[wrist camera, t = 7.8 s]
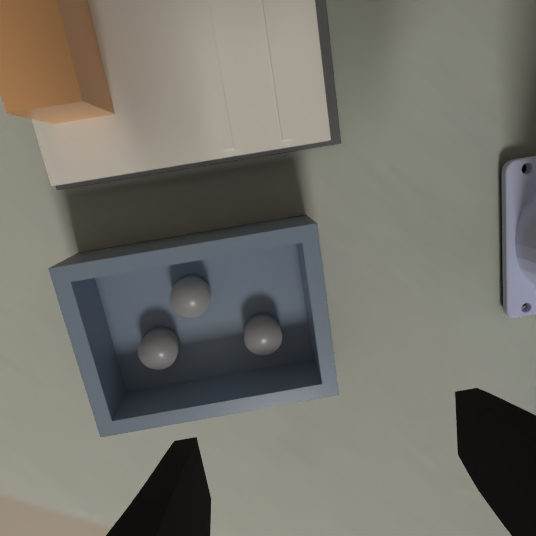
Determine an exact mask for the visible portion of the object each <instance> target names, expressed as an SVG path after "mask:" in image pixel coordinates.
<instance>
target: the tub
mask: <svg viewBox="0 0 536 536" xmlns="http://www.w3.org/2000/svg"><path fill="white" fill-rule="evenodd" d="M48 269H49V272H50V275H51V279H52V282H53V285H54V288H55V291H56V295H57V298H58V301H59V304H60V308H61V311H62V314H63V317H64V321H65V324H66V327H67V330H68V334H69V337H70V340H71V343H72V347H73V350H74V353H75V356H76V360H77V363H78V366H79V369H80V373H81V376H82V379H83V382H84V385H85V389H86V392H87V395H88V398H89V402H90V405H91V408H92V411H93V415H94V418H95V421H96V424H97V428H98V431H99V434H100V437H105V436H110V435H116V434H122V433H127V432H133V431H139V430H144V429H150V428H156V427H161V426H167V425H172V424H178V423H184V422H189V421H195V420H201V419H206V418H212V417H218V416H223V415H229V414H234V413H240V412H246V411H251V410H257V409H263V408H268V407H274V406H280V405H285V404H291V403H297V402H302V401H308V400H313V399H319V398H325V397H330V396H336V395H339V390H338V382H337V374H336V367H335V359H334V351H333V344H332V336H331V328H330V320H329V313H328V305H327V297H326V289H325V282H324V274H323V266H322V258H321V251H320V243H319V235H318V227H317V223H316V222H315V221H313V220H312V219H311V218H309V217H308V216H307V215H301V216H295V217H289V218H283V219H277V220H271V221H266V222H260V223H254V224H248V225H242V226H236V227H230V228H224V229H218V230H212V231H206V232H200V233H194V234H188V235H182V236H176V237H170V238H164V239H158V240H152V241H146V242H140V243H135V244H129V245H123V246H117V247H111V248H105V249H99V250H93V251H87V252H81V253H77V254H75V255H73V256H71V257H69V258H67V259H66V260H64V261H62V262H60V263H58V264H56V265H54V266H52V267H50V268H48Z"/></svg>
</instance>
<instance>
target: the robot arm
mask: <svg viewBox="0 0 536 536" xmlns="http://www.w3.org/2000/svg"><path fill="white" fill-rule="evenodd" d="M524 164H526V167H527V169H526V171H525V172H524V173H522V170H521V169H522V166H523V165H524ZM502 254H503V310H504V313H505V314H506V315H508V316H509V317H512V318H520V317H525V316H531V315H536V156H530V157H524V158H518V159H512V160H509V161H507V162H506V163H505V164H504V166H503V167H502ZM525 303H526V307H525V308H524V309H521V308H522V306H523V304H525ZM455 397H456V420H457V443H458V455H459V457H460V459H461V461H462V463H463V464H464V466H465V468H466V470H467V472H468V473H469V475H470V477H471V479H472V480H473V482H474V484H475V485H476V487H477V489H478V490H479V492H480V493H481V495H482V496H483V497H484V499H485V500H486V501H487V503H488V504H489V506H490V507H491V508H492V510H493V511H494V512H495V514H496V515H497V516H498V518H499V519H500V520H501V522H502V523H503V525H504V526H505V527H506V529H507V530H508V531H509V533H510V534H511V535H512V536H536V415H534V414H532V413H530V412H527V411H525V410H523V409H521V408H519V407H517V406H515V405H513V404H511V403H509V402H507V401H505V400H503V399H500V398H498V397H496V396H494V395H492V394H490V393H488V392H485V391H483V390H481V389H478V388H474V389H468V390H463V391H457V392H455ZM210 521H211V497H210V493H209V488H208V484H207V480H206V476H205V471H204V467H203V463H202V459H201V454H200V450H199V446H198V442H197V437H195V438H189V439H184V440H178V441H174V442H173V444H172V445H171V446H170V448H169V449H168V451H167V452H166V454H165V455H164V457H163V458H162V460H161V461H160V463H159V464H158V466H157V467H156V468H155V470H154V471H153V473H152V474H151V476H150V477H149V479H148V480H147V482H146V483H145V484H144V486H143V487H142V489H141V490H140V491H139V493H138V494H137V496H136V497H135V498H134V500H133V501H132V503H131V504H130V505H129V507H128V508H127V509H126V511H125V512H124V513H123V514H122V516H121V517H120V518H119V520H118V521H117V522H116V523H115V525H114V526H113V527H112V529H111V530H110V531H109V532H108V534H107V535H106V536H210Z"/></svg>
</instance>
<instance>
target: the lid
mask: <svg viewBox="0 0 536 536" xmlns="http://www.w3.org/2000/svg"><path fill="white" fill-rule="evenodd" d="M0 93H1V96H2V100H3V103H4V106H5V109H6V113H8V114H12V115H17V116H21V117H25V118H30V119H32V122H33V126H34V129H35V132H36V136H37V139H38V143H39V146H40V150H41V153H42V157H43V160H44V163H45V167H46V170H47V174H48V177H49V181H50V184H51V186H57V185H64V184H70V183H76V182H82V181H88V180H94V179H100V178H106V177H112V176H119V175H125V174H131V173H137V172H143V171H149V170H155V169H161V168H167V167H173V166H179V165H185V164H191V163H198V162H204V161H210V160H216V159H222V158H228V157H234V156H240V155H246V154H252V153H258V152H264V151H270V150H277V149H283V148H289V147H295V146H301V145H307V144H313V143H319V142H325V141H330V140H331V137H330V128H329V119H328V110H327V102H326V93H325V84H324V75H323V67H322V58H321V49H320V40H319V32H318V23H317V14H316V5H315V0H0Z"/></svg>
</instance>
